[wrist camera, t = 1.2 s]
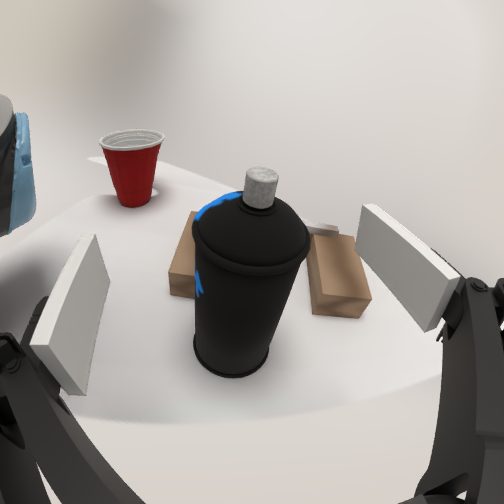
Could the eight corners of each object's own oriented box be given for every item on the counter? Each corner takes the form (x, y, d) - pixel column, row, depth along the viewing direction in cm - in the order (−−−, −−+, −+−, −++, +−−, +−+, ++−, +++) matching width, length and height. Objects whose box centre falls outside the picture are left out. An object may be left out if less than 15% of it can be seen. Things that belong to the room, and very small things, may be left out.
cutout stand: (170, 294, 34) (167, 264, 30) (190, 232, 43) (191, 203, 39) (358, 318, 35) (376, 292, 32) (344, 255, 44) (356, 229, 41)
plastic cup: (175, 189, 51) (176, 128, 43) (146, 221, 43) (142, 151, 35) (127, 179, 52) (123, 122, 44) (95, 208, 44) (85, 144, 36)
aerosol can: (281, 335, 32) (342, 176, 19) (245, 392, 26) (301, 235, 13) (220, 302, 34) (239, 138, 21) (177, 351, 28) (163, 175, 15)
